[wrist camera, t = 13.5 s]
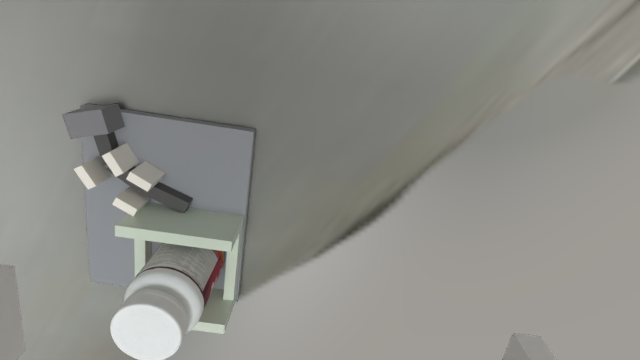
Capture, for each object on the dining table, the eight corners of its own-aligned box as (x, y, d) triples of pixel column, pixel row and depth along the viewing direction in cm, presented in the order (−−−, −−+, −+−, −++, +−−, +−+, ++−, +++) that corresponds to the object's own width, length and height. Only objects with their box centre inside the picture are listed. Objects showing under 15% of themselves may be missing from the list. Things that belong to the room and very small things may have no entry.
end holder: (141, 201, 37) (114, 225, 33) (243, 215, 38) (231, 241, 33) (141, 287, 40) (117, 320, 36) (235, 299, 41) (224, 333, 36)
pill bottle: (201, 290, 41) (158, 381, 30) (150, 255, 39) (86, 338, 29) (238, 250, 39) (205, 331, 28) (186, 212, 38) (131, 283, 27)
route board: (87, 95, 35) (57, 103, 31) (256, 121, 36) (248, 132, 32) (96, 275, 41) (72, 300, 38) (239, 294, 42) (231, 321, 38)
